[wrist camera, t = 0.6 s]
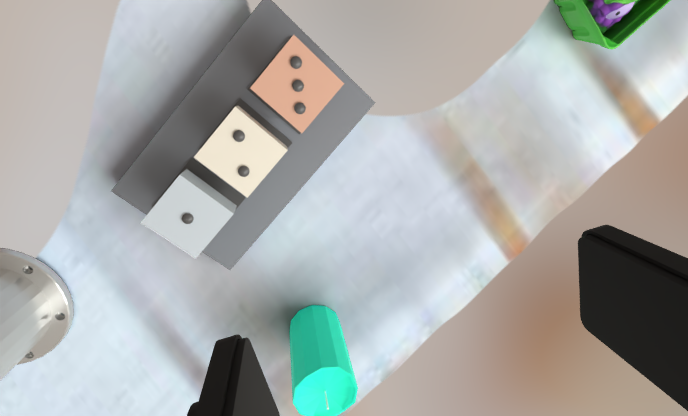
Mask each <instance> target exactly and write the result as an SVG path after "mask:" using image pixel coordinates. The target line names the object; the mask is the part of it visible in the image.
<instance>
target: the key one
mask: <svg viewBox="0 0 688 416" xmlns="http://www.w3.org/2000/svg"><path fill="white" fill-rule="evenodd" d="M236 207H237V205H235V204H234V203H232V202H231V201H230V200H228V199H227V198H226V197H224V196H223V195H222V194H220V193H219V192H218V191H216V190H215V189H213V188H212V187H211V186H209V185H208V184H207V183H205V182H204V181H203V180H201V179H200V178H199V177H197V176H196V175H194V174H193V173H192V172H190V171H189V170H188V169H186V170H185V171H184V172H182V173H181V174H180V175H179V176H178V177H177V179H176V180H175V181H174V182H173V184H172V185H171V186H170V187H169V188H168V190H167V191H166V192H165V193H164V195H163V196H162V197H161V198H160V199H159V201H158V202H157V203H156V204H155V206H154V207H153V208H152V209H151V211H150V212H149V213H148V214H147V215H146V217H145V218H144V219H143V220H142V222H141V224H143V225H144V226H146V227H147V228H149V229H150V230H152V231H153V232H155V233H157V234H158V235H160V236H161V237H163V238H164V239H166V240H167V241H169V242H170V243H172V244H173V245H175V246H176V247H178V248H180V249H181V250H183V251H184V252H186V253H187V254H189V255H190V256H192V257H193V258H195V259H196V258H197V257H198V256H199V254H200V253H201V252H202V251H203V250H204V248H205V247H206V246H207V245H208V244H209V243H210V241H211V240H212V239H213V238H214V237H215V236H216V234H217V233H218V232H219V231H220V230H221V228H222V227H223V226H224V225H225V224H226V223H227V221H228V220H229V219H230V218H231V217H232V215H233V214H234V212H235V209H236Z"/></svg>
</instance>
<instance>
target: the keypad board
mask: <svg viewBox="0 0 688 416" xmlns="http://www.w3.org/2000/svg"><path fill="white" fill-rule="evenodd" d="M293 35H295V36H296V37H297V38H298V39H299V40H300V41H301V42H302V43H303V44H304V45H305V46H306V47H307V48H308V49H309V50H310V51H311V52H312V53H313V54H314V55H315V56H316V57H317V58H319V59H320V60H321V61H322V62H323V63H324V64H325V65H326V66H327V67H328V68H329V69H330V70H331V71H332V72H333V73H334V74H335V75H336V76H337V77H338V78H339V79H340V80H341V81H342V82H343V83H344V85H343V86H342V87H341V88H340V89H339V91H338V92H337V93H336V94H335V95H334V96H333V98H332V99H331V100H330V101H329V102H328V103H327V105H326V106H325V107H324V108H323V109H322V111H321V112H320V113H319V114H318V115H317V116H316V118H315V119H314V120H313V121H312V122H311V124H310V125H309V126H308V127H307V128H306V129H305V131H304V132H303V133H301V132H300V131H298V130H297V129H296V128H295V127H294V126H293V125H292V124H290V123H289V122H288V121H287V120H286V119H285V118H284V117H282V116H281V115H280V114H279V113H278V112H277V111H276V110H274V109H273V108H272V107H271V106H270V105H269V104H267V103H266V102H265V101H264V100H263V99H262V98H261V97H259V96H258V95H257V94H256V93H255V92H254V91H253V90H251V89H250V88H251V86H252V85H253V84H254V83H255V82H256V80H257V79H258V78H259V77H260V75H261V74H262V73H263V72H264V70H265V69H266V68H267V67H268V66H269V64H270V63H271V62H272V61H273V59H274V58H275V57H276V56H277V54H278V53H279V52H280V51H281V50H282V48H283V47H284V46H285V45H286V43H287V42H288V41H289V40H290V39H291V37H292V36H293ZM374 104H375V102H374V101H373V100H372V99H371V98H370V97H369V96H368V95H367V94H366V93H365V92H364V91H363V90H362V89H361V88H360V87H359V86H358V85H357V84H356V83H355V82H354V81H353V80H352V79H351V78H350V77H349V76H348V75H347V74H346V73H345V72H344V71H343V70H341V68H339V66H338V65H337V64H336V63H334V61H333V60H331V59H330V58H329V57H328V56H327V55H326V54H325V53H324V52H323V51H322V50H321V49H320V48H319V47H318V46H317V45H316V44H315V43H314V42H313V41H312V40H311V39H310V38H309V37H308V36H307V35H306V34H305V33H304V32H303V31H302V30H301V29H300V28H299V27H298V26H297V25H296V24H295V23H294V22H293V21H292V20H291V19H290V18H289V17H288V16H287V15H286V14H285V13H284V12H283V11H282V10H281V9H280V8H279V7H278V6H277V5H276V4H275V3H274V2H273V1H272V0H262V1H261V2H260V3H259V5H258V6H257V7H256V8H255V10H254V11H253V12H252V14H251V15H250V16H249V17H248V19H247V20H246V21H245V22H244V24H243V25H242V26H241V27H240V29H239V30H238V31H237V32H236V34H235V35H234V36H233V38H232V39H231V40H230V41H229V43H228V44H227V45H226V46H225V48H224V49H223V50H222V51H221V53H220V54H219V55H218V56H217V58H216V59H215V60H214V62H213V63H212V64H211V65H210V67H209V68H208V69H207V70H206V72H205V73H204V74H203V75H202V77H201V78H200V79H199V80H198V82H197V83H196V84H195V86H194V87H193V88H192V89H191V91H190V92H189V93H188V94H187V96H186V97H185V98H184V99H183V101H182V102H181V103H180V104H179V106H178V107H177V108H176V110H175V111H174V112H173V113H172V115H171V116H170V117H169V118H168V120H167V121H166V122H165V123H164V125H163V126H162V127H161V128H160V130H159V131H158V132H157V134H156V135H155V136H154V137H153V139H152V140H151V141H150V142H149V144H148V145H147V146H146V147H145V149H144V150H143V151H142V152H141V154H140V155H139V156H138V158H137V159H136V160H135V161H134V163H133V164H132V165H131V166H130V168H129V169H128V170H127V171H126V173H125V174H124V175H123V176H122V178H121V179H120V180H119V182H118V183H117V184H116V185H115V187H114V188H113V189H112V190H111V191H112V192H113V193H115V194H116V195H118V196H119V197H121V198H122V199H124V200H125V201H127V202H128V203H130V204H131V205H133V206H134V207H136V208H137V209H139V210H140V211H142V212H143V213H145V214H146V215H147V214H148V213H149V212H150V211H151V209H152V208H153V207H154V206H155V204H156V203H157V202H158V201H159V199H160V198H161V197H162V196H163V195H164V193H165V192H166V191H167V190H168V188H169V187H170V186H171V185H172V184H173V182H174V181H175V180H176V179H177V177H178V176H179V175H180V174H181V173H182V172H184V171H185V170H186V169H188V170H189V171H190V172H192V173H193V174H194V175H196V176H197V177H199V178H200V179H201V180H203V181H204V182H205V183H207V184H208V185H209V186H211V187H212V188H213V189H215V190H216V191H218V192H219V193H220V194H222V195H223V196H224V197H226V198H227V199H228V200H230V201H231V202H232V203H234V204H235V205H237V207H236V209H235V212H234V214H233V215H232V217H231V218H230V219H229V220H228V221H227V223H226V224H225V225H224V226H223V227H222V228H221V230H220V231H219V232H218V233H217V234H216V236H215V237H214V238H213V239H212V240H211V241H210V243H209V244H208V245H207V246H206V247H205V248H204V250H203V251H202V252H203V253H205V254H206V255H208V256H209V257H211V258H212V259H214V260H215V261H217V262H218V263H220V264H221V265H223V266H224V267H226V268H227V269H229V270H231V269H232V267H233V266H234V265H235V264H236V263H237V262H238V261H239V259H240V258H241V257H242V256H243V255H244V254H245V252H246V251H247V250H248V249H249V248H250V247H251V246H252V244H253V243H254V242H255V241H256V240H257V239H258V237H259V236H260V235H261V234H262V233H263V232H264V231H265V229H266V228H267V227H268V226H269V225H270V224H271V222H272V221H273V220H274V219H275V218H276V217H277V216H278V214H279V213H280V212H281V211H282V210H283V209H284V207H285V206H286V205H287V204H288V203H289V202H290V201H291V199H292V198H293V197H294V196H295V195H296V194H297V192H298V191H299V190H300V189H301V188H302V187H303V186H304V184H305V183H306V182H307V181H308V180H309V179H310V177H311V176H312V175H313V174H314V173H315V172H316V171H317V169H318V168H319V167H320V166H321V165H322V164H323V162H324V161H325V160H326V159H327V158H328V157H329V156H330V154H331V153H332V152H333V151H334V150H335V149H336V147H337V146H338V145H339V144H340V143H341V142H342V141H343V139H344V138H345V137H346V136H347V135H348V134H349V132H350V131H351V130H352V129H353V128H354V127H355V126H356V124H357V123H358V122H359V121H360V120H361V119H362V117H363V116H364V115H365V114H366V113H367V112H368V111H369V109H370V108H371V107H372V106H373V105H374ZM235 106H240V107H241V108H242V109H243V110H244V111H245V112H247V113H248V114H249V115H250V116H251V117H253V118H254V119H255V120H256V121H257V122H259V123H260V124H261V125H262V126H263V127H264V128H266V129H267V130H268V131H269V132H270V133H272V134H273V135H274V136H275V137H276V138H278V139H279V140H280V141H281V142H282V143H283V144H285V145H286V146H287V149H288V151H287V152H286V153H285V154H284V155H283V157H282V158H281V159H280V160H279V161H278V162H277V164H276V165H275V166H274V167H273V168H272V170H271V171H270V172H269V173H268V174H267V175H266V177H265V178H264V179H263V180H262V181H261V182H260V184H259V185H258V186H257V187H256V188H255V190H254V191H253V192H252V193H251V194H250V195H249V197H248V198H247V197H246V196H244V195H243V194H242V193H240V192H239V191H238V190H236V189H235V188H234V187H232V186H231V185H230V184H228V183H227V182H226V181H224V180H223V179H222V178H220V177H219V176H218V175H216V174H215V173H214V172H212V171H211V170H210V169H208V168H207V167H206V166H204V165H203V164H202V163H201V162H199V161H198V160H197V159H195V158H194V156H195V155H196V154H197V153H198V152H199V150H200V149H201V148H202V147H203V145H204V144H205V143H206V142H207V140H208V139H209V138H210V137H211V136H212V134H213V133H214V132H215V131H216V129H217V128H218V127H219V126H220V125H221V123H222V122H223V121H224V120H225V118H226V117H227V116H228V115H229V113H230V112H231V111H232V110H233V109H234V107H235Z"/></svg>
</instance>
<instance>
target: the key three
mask: <svg viewBox="0 0 688 416" xmlns="http://www.w3.org/2000/svg"><path fill="white" fill-rule="evenodd" d="M343 85H344V83H343V82H342V81H341V80H340V79H339V78H338V77H337V76H336V75H335V74H334V73H333V72H332V71H331V70H330V69H329V68H328V67H327V66H326V65H325V64H324V63H323V62H322V61H321V60H320V59H319V58H317V57H316V56H315V55H314V54H313V53H312V52H311V51H310V50H309V49H308V48H307V47H306V46H305V45H304V44H303V43H302V42H301V41H300V40H299V39H298V38H297V37H296V36H295V35H293V36H292V37H291V39H290V40H289V41H288V42H287V43H286V45H285V46H284V47H283V48H282V50H281V51H280V52H279V53H278V54H277V56H276V57H275V58H274V59H273V61H272V62H271V63H270V64H269V66H268V67H267V68H266V69H265V70H264V72H263V73H262V74H261V75H260V77H259V78H258V79H257V80H256V82H255V83H254V84H253V85H252V86H251V88H250V89H251V90H253V91H254V92H255V93H256V94H257V95H258V96H259V97H261V98H262V99H263V100H264V101H265V102H266V103H267V104H269V105H270V106H271V107H272V108H273V109H274V110H276V111H277V112H278V113H279V114H280V115H281V116H282V117H284V118H285V119H286V120H287V121H288V122H289V123H290V124H292V125H293V126H294V127H295V128H296V129H297V130H298V131H300V132H301V133H303V132H304V131H305V129H306V128H307V127H308V126H309V125H310V124H311V122H312V121H313V120H314V119H315V118H316V116H317V115H318V114H319V113H320V112H321V111H322V109H323V108H324V107H325V106H326V105H327V103H328V102H329V101H330V100H331V99H332V98H333V96H334V95H335V94H336V93H337V92H338V91H339V89H340V88H341V87H342V86H343Z"/></svg>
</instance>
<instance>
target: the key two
mask: <svg viewBox="0 0 688 416" xmlns="http://www.w3.org/2000/svg"><path fill="white" fill-rule="evenodd" d="M287 151H288V149H287V146H286V145H285V144H283V143H282V142H281V141H280V140H279V139H278V138H276V137H275V136H274V135H273V134H272V133H270V132H269V131H268V130H267V129H266V128H264V127H263V126H262V125H261V124H260V123H259V122H257V121H256V120H255V119H254V118H253V117H251V116H250V115H249V114H248V113H247V112H245V111H244V110H243V109H242V108H241V107H240V106H235V107H234V109H233V110H232V111H231V112H230V113H229V115H228V116H227V117H226V118H225V120H224V121H223V122H222V123H221V125H220V126H219V127H218V128H217V129H216V131H215V132H214V133H213V134H212V136H211V137H210V138H209V139H208V140H207V142H206V143H205V144H204V145H203V147H202V148H201V149H200V150H199V152H198V153H197V154H196V155H195V156H194V158H195V159H197V160H198V161H199V162H201V163H202V164H203V165H204V166H206V167H207V168H208V169H210V170H211V171H212V172H214V173H215V174H216V175H218V176H219V177H220V178H222V179H223V180H224V181H226V182H227V183H228V184H230V185H231V186H232V187H234V188H235V189H236V190H238V191H239V192H240V193H242V194H243V195H244V196H246V197H247V198H248V197H249V195H250V194H251V193H252V192H253V191H254V190H255V188H256V187H257V186H258V185H259V184H260V182H261V181H262V180H263V179H264V178H265V177H266V175H267V174H268V173H269V172H270V171H271V170H272V168H273V167H274V166H275V165H276V164H277V162H278V161H279V160H280V159H281V158H282V157H283V155H284V154H285V153H286V152H287Z"/></svg>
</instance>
